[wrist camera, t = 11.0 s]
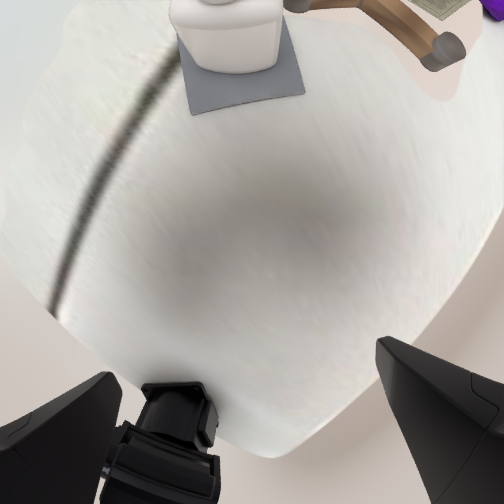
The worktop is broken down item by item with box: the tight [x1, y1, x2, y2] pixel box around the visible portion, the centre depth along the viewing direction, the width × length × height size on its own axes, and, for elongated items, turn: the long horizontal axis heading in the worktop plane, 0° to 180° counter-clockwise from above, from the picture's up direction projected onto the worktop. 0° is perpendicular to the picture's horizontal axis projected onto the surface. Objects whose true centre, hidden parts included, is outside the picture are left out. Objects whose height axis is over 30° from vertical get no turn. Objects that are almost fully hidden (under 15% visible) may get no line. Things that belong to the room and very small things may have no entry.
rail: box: [283, 0, 466, 72], centre depth 14 cm, size 13×8×4 cm, turn 101°
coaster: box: [176, 16, 305, 115], centre depth 17 cm, size 8×8×1 cm
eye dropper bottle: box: [168, 0, 283, 74], centre depth 11 cm, size 4×6×12 cm
